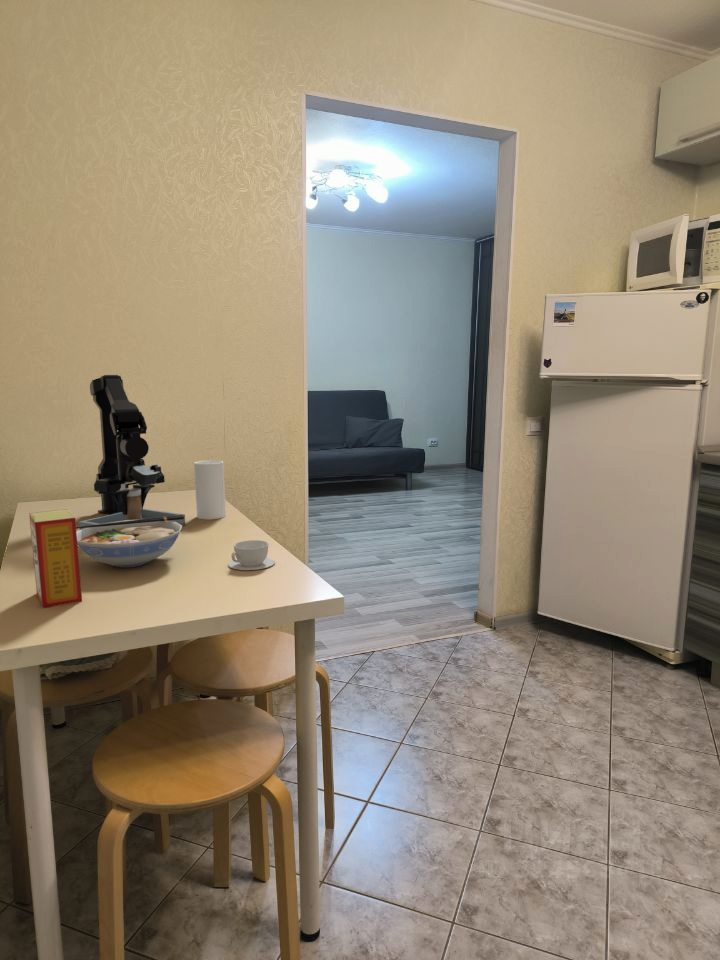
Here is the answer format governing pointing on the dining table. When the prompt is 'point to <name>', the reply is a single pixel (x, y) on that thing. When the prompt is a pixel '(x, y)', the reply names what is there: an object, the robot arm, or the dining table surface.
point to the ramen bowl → (129, 540)
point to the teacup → (250, 555)
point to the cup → (210, 489)
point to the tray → (120, 517)
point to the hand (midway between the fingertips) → (132, 513)
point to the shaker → (134, 504)
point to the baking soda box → (55, 557)
